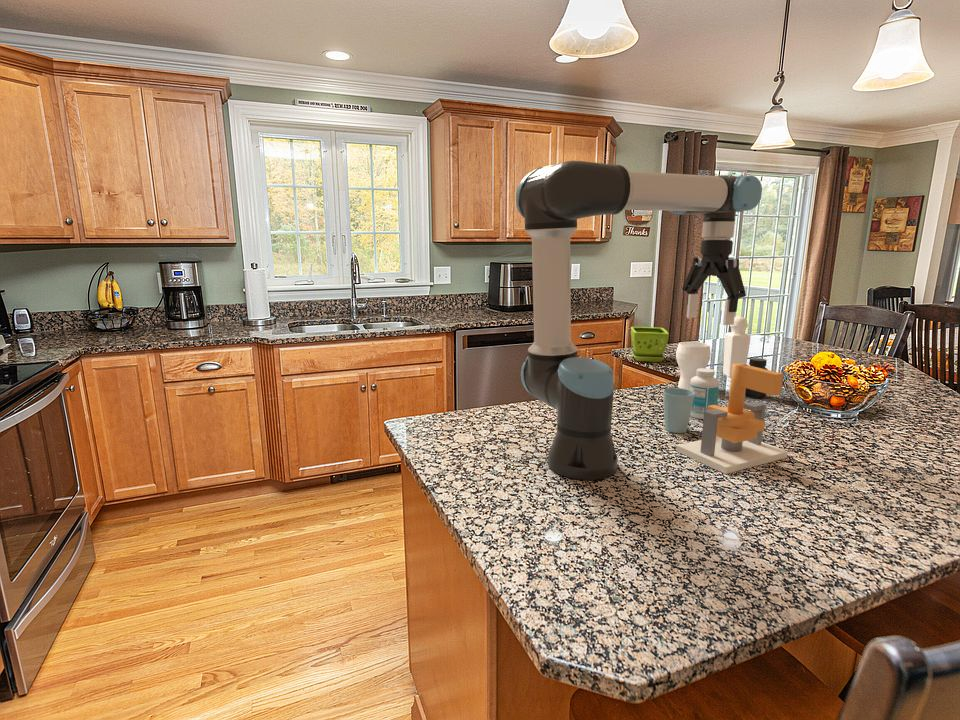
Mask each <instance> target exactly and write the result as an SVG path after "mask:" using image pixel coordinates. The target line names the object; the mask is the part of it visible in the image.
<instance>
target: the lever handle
mask: <svg viewBox="0 0 960 720" xmlns="http://www.w3.org/2000/svg"><path fill="white" fill-rule="evenodd" d="M783 379H784V373H782V372H778V371H775V370H774V371H773V370H769V369H768V370H766V369H762V368H757V367H753V366H750V365H749V364H741V363H734V364H732V374H731V377H730V385H729V397H728V403H727V404H728V405H727V406H720V405H718V404H717V405H710V406H708V408H707V411H708V410H713V409H720V410H723V411H726V412H728V414H727V417H722V418H718V423H717V433H716V436H718V437H720V438H723V439H725V440H728V441H730V442H733V443H739V442H743V441H747V440H751V439H756V438H757V432H758V431H763V432H764V431H765V427H766V421H765V420H764V421H762V420H759V419H756V418H754V417H755V414H754V413H753V412H751V410H749V409H745V408H744V403H745V398H746V396H745V391H746V388H748V389H751V390H755V391H758V392H762V393H766V394H767V395H769V396H772V397H773V396H778V395H781V394H782V387H783Z"/></svg>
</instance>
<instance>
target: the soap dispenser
mask: <svg viewBox="0 0 960 720" xmlns="http://www.w3.org/2000/svg"><path fill="white" fill-rule="evenodd" d="M729 326H730V329H731V332H726V333H725V334H724V349H723V363H722V364H723V369H722V374H723V375H725V376H726V377H727V378H731V374H732V364H734V363H741V364H747V363H748V357H749V356H748V355H749V351H750V344H751V339H752V337H751V335H749V334H747V333H746V329H747V328H748V327H749V323H748V320H747V319H746V318H745V317H743V316H739V315H738V316H735V317H734V325H729ZM747 365H748V364H747Z"/></svg>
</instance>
